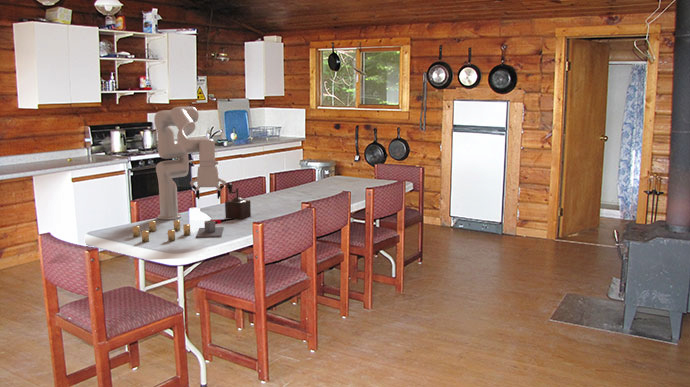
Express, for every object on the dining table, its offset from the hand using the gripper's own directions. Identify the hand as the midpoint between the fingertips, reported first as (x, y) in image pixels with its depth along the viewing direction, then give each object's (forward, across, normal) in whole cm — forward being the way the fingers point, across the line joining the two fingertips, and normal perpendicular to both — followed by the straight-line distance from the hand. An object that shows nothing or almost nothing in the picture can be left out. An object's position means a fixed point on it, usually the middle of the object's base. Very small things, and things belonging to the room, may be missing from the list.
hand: (208, 198), depth 305 cm
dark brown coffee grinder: (+18, -11, -37) cm, 42 cm away
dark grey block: (+17, 0, 0) cm, 17 cm away
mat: (+18, 0, 0) cm, 18 cm away
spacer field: (+18, +23, +2) cm, 29 cm away
